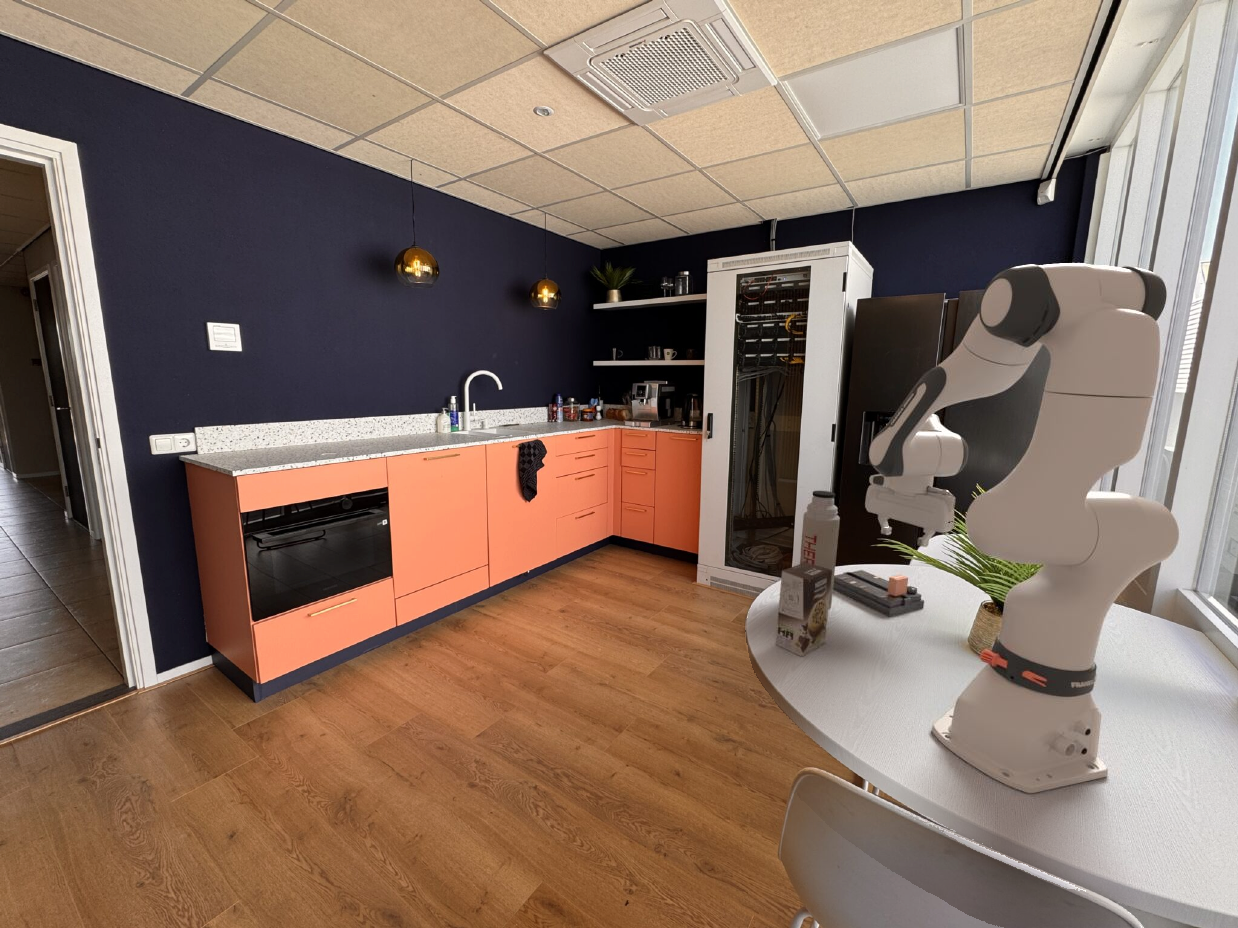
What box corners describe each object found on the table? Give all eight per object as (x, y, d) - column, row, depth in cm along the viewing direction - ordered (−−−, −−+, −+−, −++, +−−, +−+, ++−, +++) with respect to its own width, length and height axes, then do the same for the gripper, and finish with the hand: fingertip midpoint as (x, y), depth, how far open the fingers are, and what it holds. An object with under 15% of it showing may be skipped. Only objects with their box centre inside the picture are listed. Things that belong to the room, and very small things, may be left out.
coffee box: (802, 657, 100) (809, 580, 97) (774, 644, 105) (780, 570, 102) (826, 643, 106) (833, 569, 103) (798, 631, 111) (804, 560, 108)
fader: (894, 602, 121) (896, 579, 120) (886, 598, 123) (889, 576, 122) (905, 599, 123) (908, 577, 122) (898, 596, 124) (900, 574, 123)
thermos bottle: (810, 613, 119) (820, 496, 114) (789, 598, 127) (798, 489, 122) (838, 609, 122) (850, 495, 117) (816, 595, 129) (826, 487, 124)
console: (889, 617, 118) (891, 599, 117) (828, 587, 134) (829, 571, 133) (923, 608, 123) (925, 591, 122) (860, 580, 139) (862, 565, 138)
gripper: (965, 490, 110) (956, 552, 112) (881, 473, 128) (875, 526, 130) (946, 493, 107) (938, 555, 110) (864, 475, 125) (858, 529, 128)
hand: (903, 539), depth 120 cm, fingers open, 8 cm apart
